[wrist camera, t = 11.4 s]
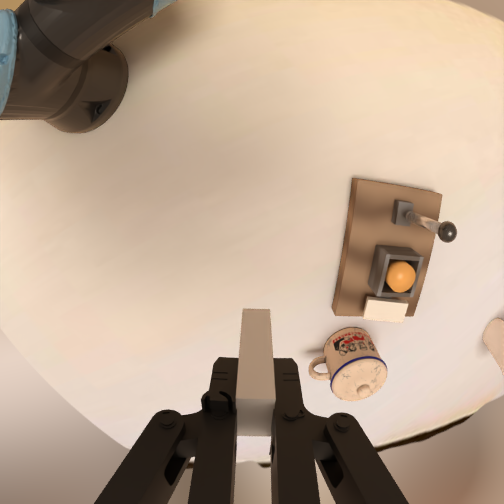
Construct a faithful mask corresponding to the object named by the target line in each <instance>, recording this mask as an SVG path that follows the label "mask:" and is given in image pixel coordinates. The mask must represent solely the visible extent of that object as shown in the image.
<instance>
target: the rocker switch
mask: <svg viewBox="0 0 504 504" xmlns="http://www.w3.org/2000/svg"><path fill="white" fill-rule="evenodd" d="M407 307H408V302H407V301H404V300H395V299H386V298H377V297H368V296H367V299H366V303H365V307H364V311H363V315H362V316H363V319H368V320H378V321H388V322H399V323H403V320H404V317H405V314H406V311H407Z"/></svg>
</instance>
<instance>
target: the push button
mask: <svg viewBox="0 0 504 504" xmlns="http://www.w3.org/2000/svg"><path fill="white" fill-rule="evenodd" d="M415 276H416V275H415V270H414V269H413V268H412V267H411V266H410V265H409V264H408V263H407V262H406V261H404V260H398V259H389V263H388V268H387V272H386V276H385V281H386V283H387V284H388V285H389V286H390V287H391V288H392V290H393V291H395V292H399V293H401V292H405V291H407V290H408V289H409V288H410V287H411V286H412V285H413V283H414V281H415Z"/></svg>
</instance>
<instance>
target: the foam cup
mask: <svg viewBox="0 0 504 504" xmlns="http://www.w3.org/2000/svg"><path fill="white" fill-rule="evenodd" d="M482 338H483V341H484V343H485V344H486V346H487V348H488V349H489V351H490V352H491V354H492V355H493V357H494V359H495V360H496V362H497V364H498V365H499V367H500V369H501V370H502V373H503V375H504V321H503V320H501V319H499V318H496V319H494V320H493V321H491V322H490V323H489V324H488V326H487V327H486V329H485V331H484V333H483V337H482Z"/></svg>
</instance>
